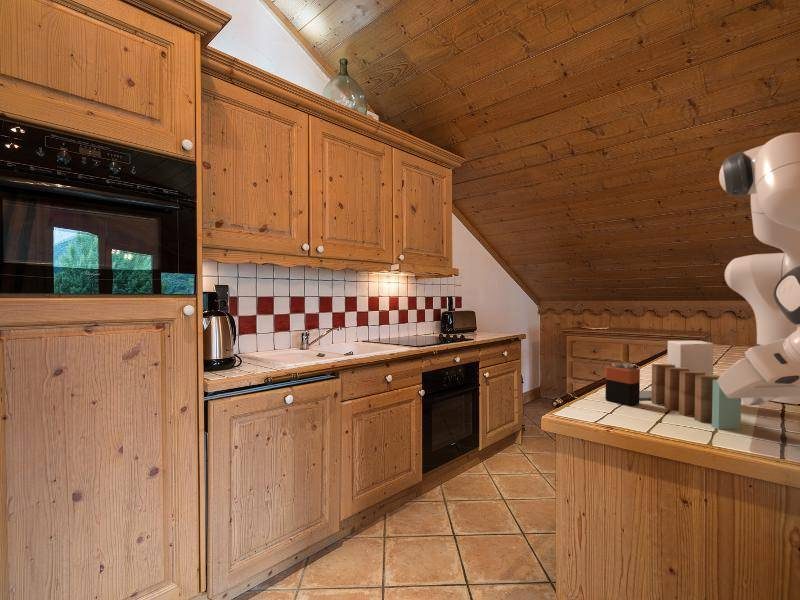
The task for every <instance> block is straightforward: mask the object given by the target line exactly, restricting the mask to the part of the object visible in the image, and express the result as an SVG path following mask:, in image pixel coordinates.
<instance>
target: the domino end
mask: <svg viewBox="0 0 800 600" xmlns="http://www.w3.org/2000/svg"><path fill="white" fill-rule="evenodd" d="M741 416H742V398H728V397H726V396H725V394H724V393H723V392H722V390H721V389H720V387H719V385H718V382H717V380H713V395H712V422H711V428H714V429H717V430H734V429H735V430H740V429H741V428H742V427H741V423H742V422H741V421H742V419H741V418H742V417H741Z"/></svg>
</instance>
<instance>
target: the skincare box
mask: <svg viewBox="0 0 800 600" xmlns="http://www.w3.org/2000/svg"><path fill="white" fill-rule="evenodd" d="M714 347H715V343H713V342H708V341H703V340H667V364H672V365H675V367H685V368H689V371H701V372H705V375H714Z"/></svg>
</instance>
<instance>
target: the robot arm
mask: <svg viewBox="0 0 800 600" xmlns="http://www.w3.org/2000/svg"><path fill="white" fill-rule="evenodd" d="M718 180H719V185H720V186H721V188H722V189H723V190H724V191H725V193H726V194H727V195H728V196H730V197H733V198H734V197H735V198H739V197H747V196H749V195H750V209H751V210H750V212H751V222H752V228H753V235H754V237H755V238H756V239H757V240H759V242H761V243H762V244H765V245H768V246H771V247H774V248H777V249H780V250H781V251H782V252H776V253H757V254H756V253H755V254H749V255H744V256H739V257H736V258H733V259H732V260H731V261H729V263H728V264H727V266H726V268H725V270H724V280H725V282H726V284H727V286H728V288H730V289H731V290H733V291H734V292H736V293H737V294H739V295H740V296H741V297H743V298H744V299H745V300H746V302H747V303H748V304H749V306H750V307H751V308H752V311H753V313H754V317H755V324H756V343H755V344H754V346H751V347H750V348H748V349H747V350H745V351H744V355H745V357H744V358H741V359H739V360H737V361H736V362H735V363H733V364H732V365H731V366H729V367H728V368H727V369H726V370H725V371H724V372H722V374H721V375H719V376H720V377H719V378H718V380H717V382H718V385H719V387H720V389H721V390H722V392H723V393H724V394H725V396H726V397H728V398H741V401H742V402H743V403H744V405H746V406H763V405H764V404H765V403H767V402H778V403H784V404H792V405H798V404H800V132H788V133H783V134H780V135H778V136H775V137H773V138H772V139H770V140H769V141H767V142H766V143H764V144H763V145H760V146H756V147H753V148H751V149H748V150H744V151H739V152H736V153H734V154H731V155H729V156H727V157H726V158H725V159H724V161H723V162H722V163H721V167H720V170H719V175H718Z"/></svg>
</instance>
